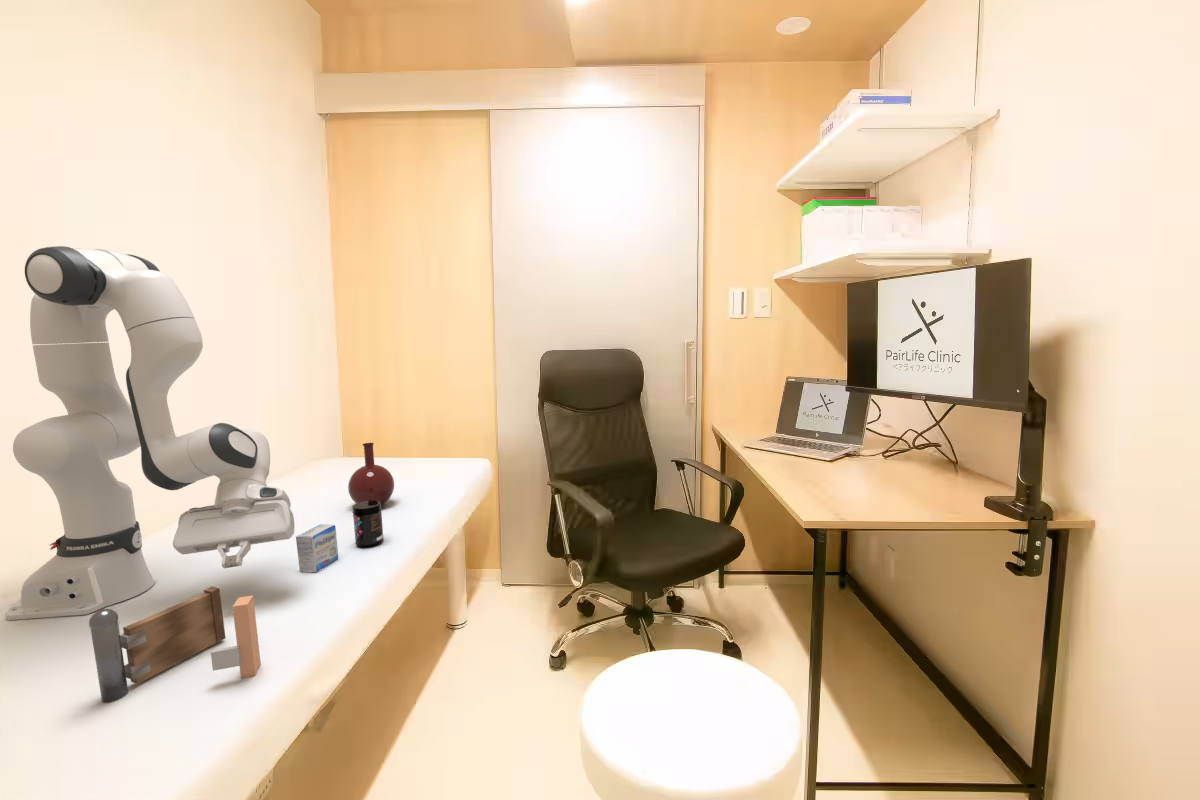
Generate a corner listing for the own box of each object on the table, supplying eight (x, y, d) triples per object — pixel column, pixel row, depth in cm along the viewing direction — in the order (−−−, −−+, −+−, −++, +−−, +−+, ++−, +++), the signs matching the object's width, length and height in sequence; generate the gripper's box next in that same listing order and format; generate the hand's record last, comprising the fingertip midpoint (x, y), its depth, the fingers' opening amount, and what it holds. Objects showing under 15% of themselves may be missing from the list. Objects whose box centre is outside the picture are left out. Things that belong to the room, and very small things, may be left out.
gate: (134, 686, 84) (125, 629, 82) (126, 683, 84) (118, 626, 83) (225, 638, 96) (219, 588, 95) (218, 636, 97) (212, 586, 96)
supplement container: (364, 538, 143) (361, 500, 142) (388, 538, 143) (385, 500, 141) (350, 548, 137) (346, 508, 135) (375, 549, 136) (372, 509, 135)
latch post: (214, 685, 84) (205, 612, 82) (223, 671, 88) (214, 601, 86) (253, 678, 86) (245, 606, 84) (260, 664, 89) (253, 595, 88)
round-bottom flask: (359, 501, 175) (354, 440, 173) (400, 499, 176) (396, 438, 174) (343, 514, 162) (337, 449, 160) (388, 512, 163) (383, 447, 161)
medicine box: (315, 573, 123) (312, 536, 122) (298, 572, 124) (295, 535, 123) (339, 558, 131) (336, 524, 129) (322, 557, 131) (319, 523, 130)
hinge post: (96, 705, 80) (82, 617, 78) (108, 691, 83) (95, 606, 81) (122, 700, 81) (109, 613, 79) (133, 686, 84) (121, 603, 82)
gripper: (174, 502, 107) (159, 569, 99) (291, 487, 113) (286, 550, 105) (187, 516, 111) (174, 582, 103) (298, 502, 117) (294, 563, 109)
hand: (231, 566), depth 104 cm, fingers closed
